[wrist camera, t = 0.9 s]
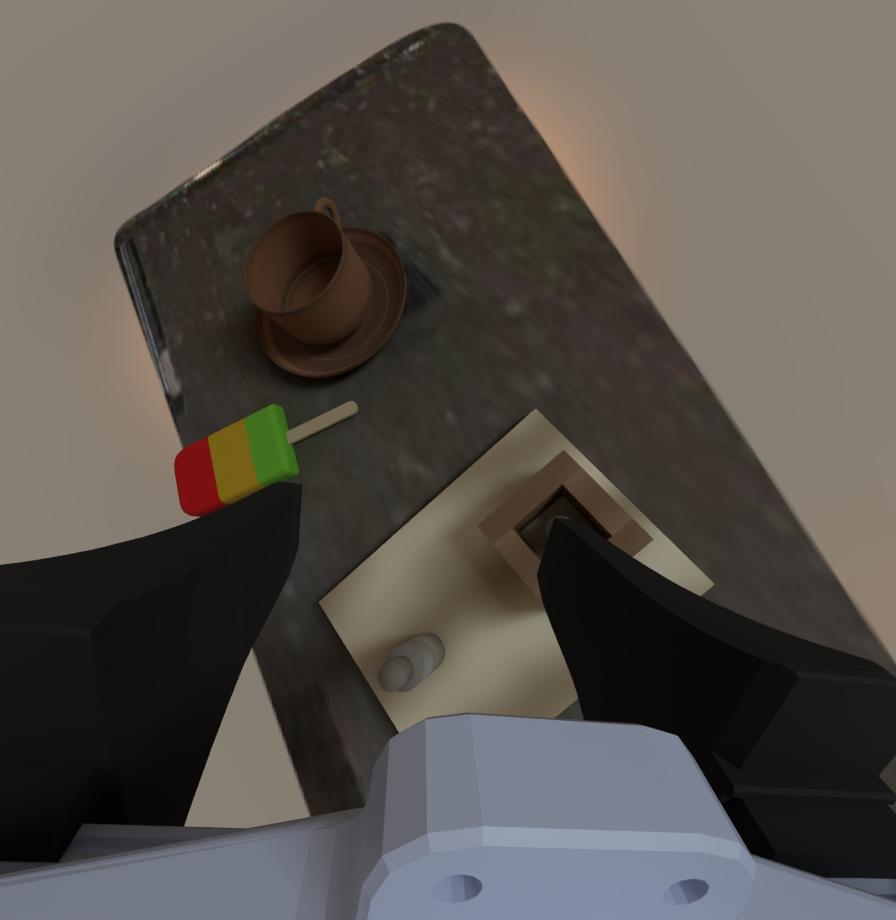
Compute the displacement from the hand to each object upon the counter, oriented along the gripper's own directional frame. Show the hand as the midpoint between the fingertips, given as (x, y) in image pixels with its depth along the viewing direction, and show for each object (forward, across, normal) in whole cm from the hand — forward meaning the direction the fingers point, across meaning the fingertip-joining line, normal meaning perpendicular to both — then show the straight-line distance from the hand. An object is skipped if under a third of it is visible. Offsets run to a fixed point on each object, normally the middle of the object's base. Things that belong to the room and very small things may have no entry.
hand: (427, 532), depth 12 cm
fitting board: (+9, -6, +9) cm, 14 cm away
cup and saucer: (+24, +7, -4) cm, 26 cm away
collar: (+9, -8, +5) cm, 13 cm away
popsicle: (+20, +10, +7) cm, 23 cm away
